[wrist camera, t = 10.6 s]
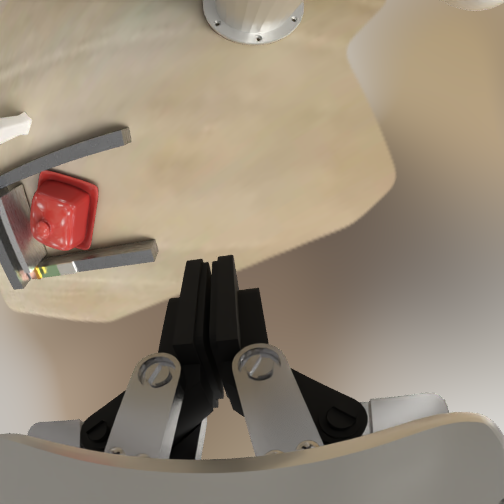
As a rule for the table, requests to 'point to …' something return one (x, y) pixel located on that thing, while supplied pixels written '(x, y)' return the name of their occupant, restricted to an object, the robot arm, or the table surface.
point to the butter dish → (63, 211)
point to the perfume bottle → (14, 126)
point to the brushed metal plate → (21, 230)
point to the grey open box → (78, 261)
